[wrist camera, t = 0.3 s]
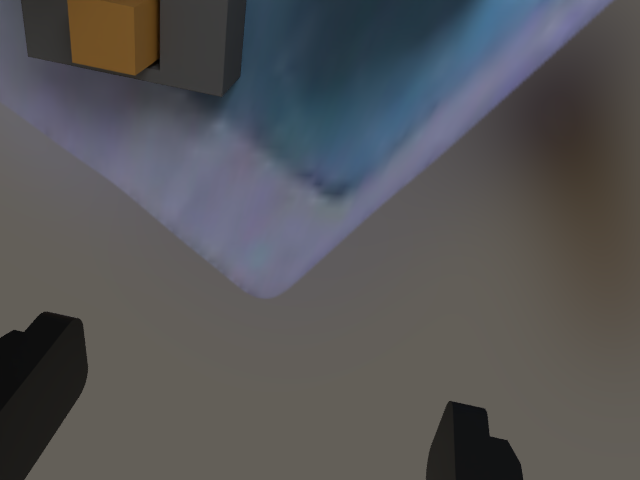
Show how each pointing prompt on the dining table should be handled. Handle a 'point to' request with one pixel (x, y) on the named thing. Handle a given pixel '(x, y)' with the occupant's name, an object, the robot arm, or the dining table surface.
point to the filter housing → (175, 42)
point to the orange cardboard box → (115, 33)
